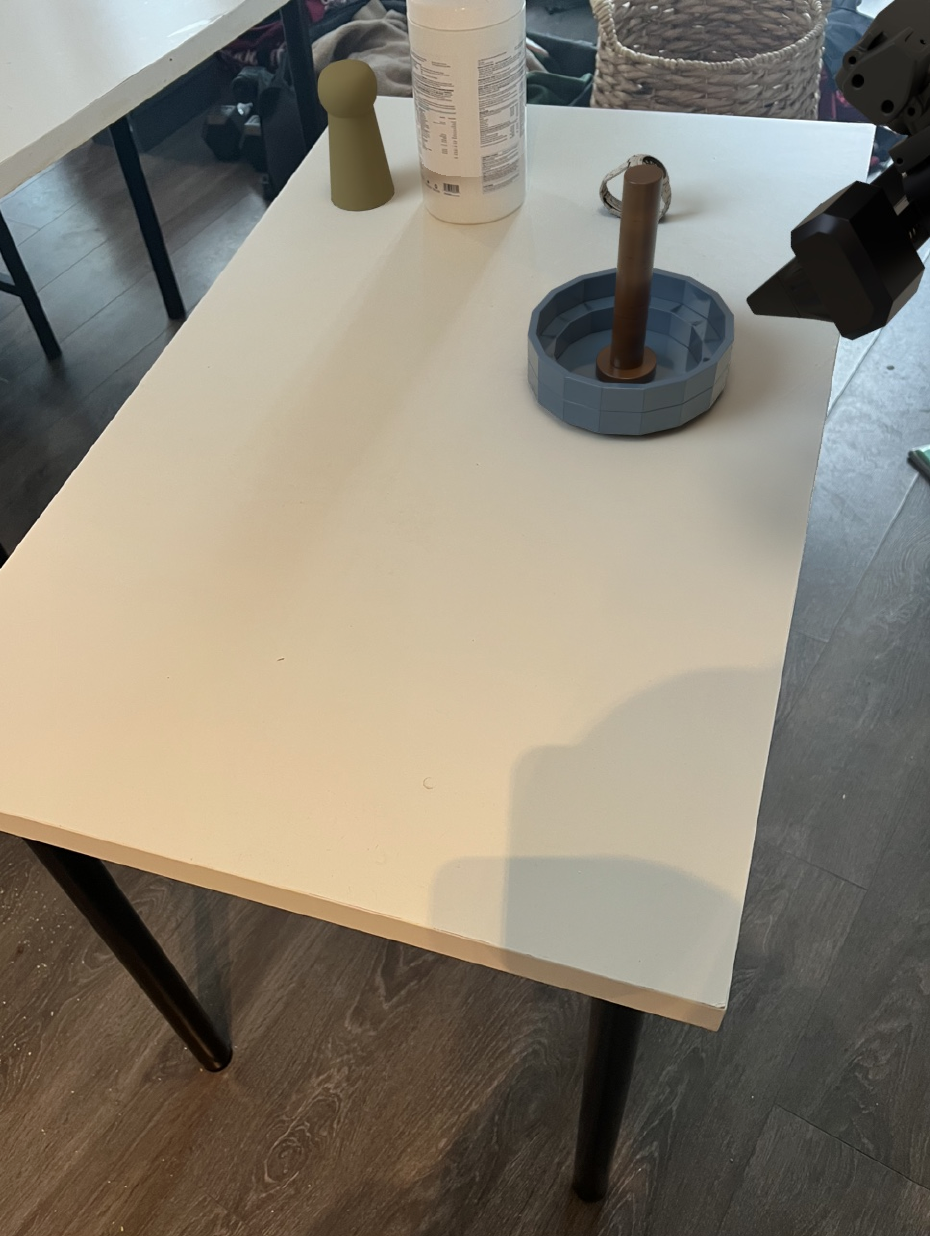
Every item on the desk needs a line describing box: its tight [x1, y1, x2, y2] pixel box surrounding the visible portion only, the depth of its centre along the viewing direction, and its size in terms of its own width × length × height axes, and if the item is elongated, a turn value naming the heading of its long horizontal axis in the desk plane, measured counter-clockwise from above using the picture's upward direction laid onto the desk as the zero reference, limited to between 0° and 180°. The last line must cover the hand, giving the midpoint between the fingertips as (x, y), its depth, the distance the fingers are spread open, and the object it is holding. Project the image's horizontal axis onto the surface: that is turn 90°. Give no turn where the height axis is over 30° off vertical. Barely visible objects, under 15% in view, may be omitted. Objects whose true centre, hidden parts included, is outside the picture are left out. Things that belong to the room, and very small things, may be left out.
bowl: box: [527, 267, 735, 436], centre depth 71 cm, size 14×14×4 cm
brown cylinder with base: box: [595, 164, 663, 384], centre depth 66 cm, size 4×4×14 cm
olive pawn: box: [317, 58, 395, 212], centre depth 87 cm, size 6×6×11 cm
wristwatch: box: [598, 153, 672, 220], centre depth 83 cm, size 4×6×5 cm, turn 64°
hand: (791, 266), depth 57 cm, fingers open, 9 cm apart
